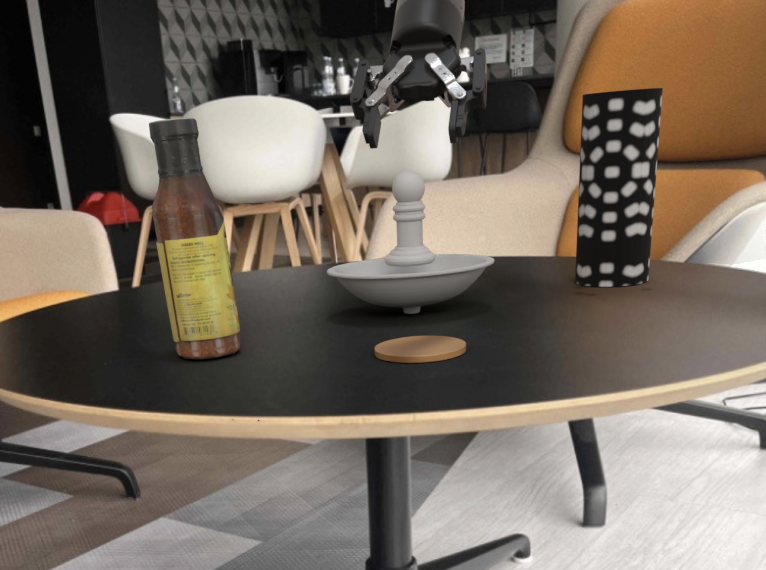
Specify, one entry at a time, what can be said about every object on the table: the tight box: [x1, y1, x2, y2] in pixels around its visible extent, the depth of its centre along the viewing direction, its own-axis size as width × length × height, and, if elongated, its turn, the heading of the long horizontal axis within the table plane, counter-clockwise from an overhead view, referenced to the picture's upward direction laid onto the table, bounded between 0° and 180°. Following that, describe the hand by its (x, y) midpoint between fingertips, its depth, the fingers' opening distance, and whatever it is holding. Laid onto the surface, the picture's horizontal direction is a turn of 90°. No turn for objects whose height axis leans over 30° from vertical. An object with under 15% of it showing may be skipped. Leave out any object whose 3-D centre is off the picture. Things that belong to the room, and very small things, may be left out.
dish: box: [326, 253, 495, 315], centre depth 93 cm, size 18×14×5 cm
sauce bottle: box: [148, 117, 241, 361], centre depth 77 cm, size 6×6×20 cm
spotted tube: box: [574, 87, 664, 288], centre depth 99 cm, size 8×8×20 cm
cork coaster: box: [374, 335, 467, 364], centre depth 76 cm, size 8×8×1 cm
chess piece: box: [384, 170, 436, 267], centre depth 90 cm, size 5×5×9 cm
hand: (412, 139), depth 90 cm, fingers open, 8 cm apart
